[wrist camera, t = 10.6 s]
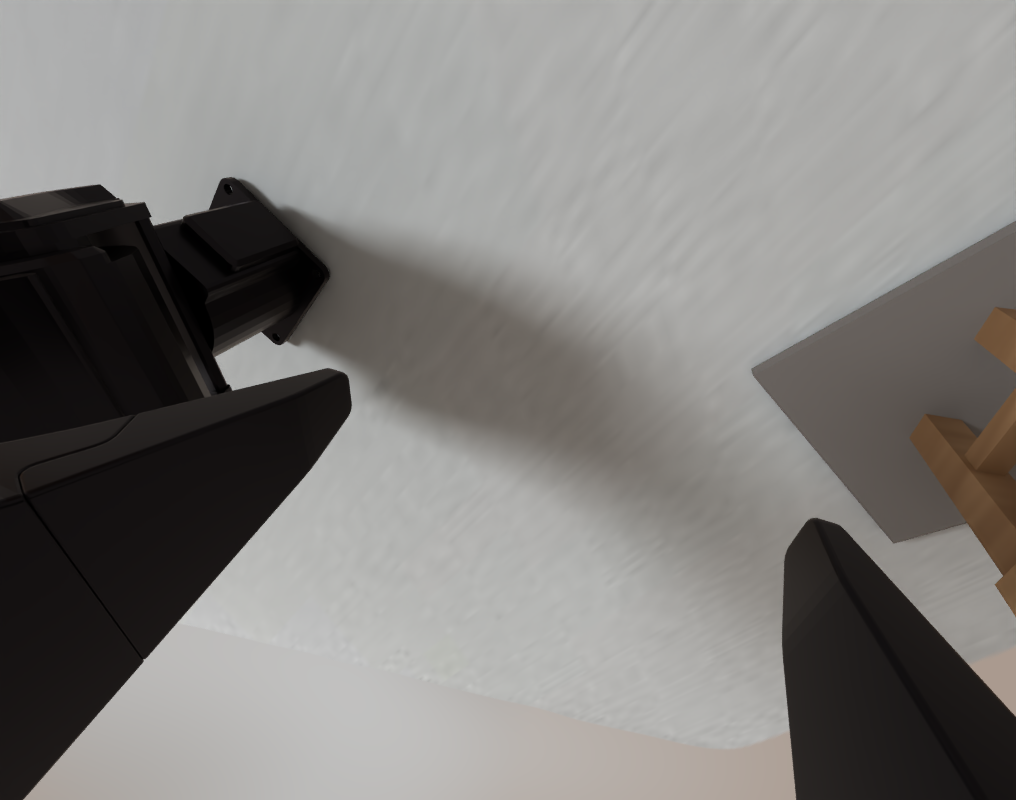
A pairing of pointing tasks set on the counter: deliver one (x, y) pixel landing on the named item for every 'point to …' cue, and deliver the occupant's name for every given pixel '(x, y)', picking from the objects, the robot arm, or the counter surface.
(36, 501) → the robot arm
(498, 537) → the counter surface
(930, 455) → the stool
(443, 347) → the counter surface
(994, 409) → the mat
